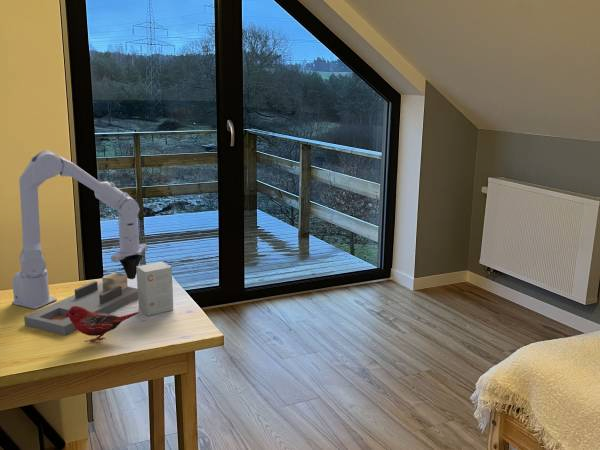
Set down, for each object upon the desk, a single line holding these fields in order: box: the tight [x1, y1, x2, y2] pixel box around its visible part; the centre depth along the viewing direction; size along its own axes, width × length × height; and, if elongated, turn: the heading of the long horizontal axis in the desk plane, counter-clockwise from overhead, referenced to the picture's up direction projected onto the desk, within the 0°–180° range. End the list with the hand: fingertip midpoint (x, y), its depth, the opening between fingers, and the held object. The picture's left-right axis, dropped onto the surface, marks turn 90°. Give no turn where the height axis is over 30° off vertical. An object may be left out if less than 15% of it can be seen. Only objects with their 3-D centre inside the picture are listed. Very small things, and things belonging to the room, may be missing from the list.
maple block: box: [101, 272, 129, 291], centre depth 174 cm, size 5×5×4 cm
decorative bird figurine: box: [64, 306, 140, 343], centre depth 145 cm, size 3×18×10 cm, turn 114°
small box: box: [136, 261, 174, 317], centre depth 165 cm, size 8×6×13 cm
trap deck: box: [23, 280, 138, 336], centre depth 164 cm, size 14×30×5 cm, turn 156°
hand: (131, 278), depth 181 cm, fingers closed
